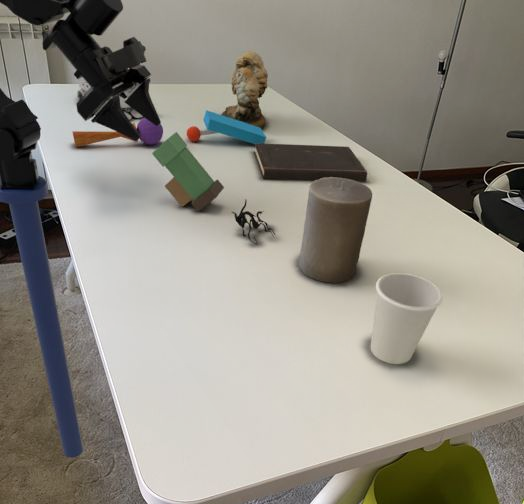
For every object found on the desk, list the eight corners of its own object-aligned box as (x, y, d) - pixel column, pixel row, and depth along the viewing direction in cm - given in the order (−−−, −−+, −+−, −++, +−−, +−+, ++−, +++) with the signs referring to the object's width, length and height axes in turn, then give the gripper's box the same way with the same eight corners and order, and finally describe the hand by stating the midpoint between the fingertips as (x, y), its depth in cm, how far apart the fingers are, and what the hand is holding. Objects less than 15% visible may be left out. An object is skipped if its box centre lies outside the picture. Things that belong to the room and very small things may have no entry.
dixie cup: (359, 364, 73) (375, 301, 66) (362, 327, 79) (377, 267, 73) (423, 375, 72) (445, 313, 66) (420, 338, 78) (440, 278, 72)
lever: (251, 154, 142) (183, 133, 135) (260, 127, 138) (191, 105, 131) (256, 164, 137) (186, 143, 130) (266, 137, 133) (194, 114, 126)
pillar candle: (367, 276, 90) (388, 189, 81) (319, 288, 86) (335, 198, 77) (333, 249, 97) (349, 165, 87) (286, 259, 92) (297, 172, 83)
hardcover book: (254, 152, 130) (254, 143, 129) (347, 156, 134) (349, 146, 132) (263, 179, 118) (264, 169, 117) (365, 182, 122) (367, 172, 120)
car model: (115, 122, 138) (113, 101, 135) (68, 97, 151) (66, 77, 148) (152, 116, 145) (152, 96, 142) (104, 92, 158) (103, 73, 155)
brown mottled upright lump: (218, 110, 154) (220, 41, 143) (259, 112, 156) (265, 44, 145) (224, 131, 140) (227, 57, 130) (269, 133, 142) (276, 60, 132)
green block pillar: (153, 203, 105) (150, 136, 97) (163, 193, 109) (161, 128, 101) (215, 215, 103) (217, 148, 95) (223, 204, 107) (226, 139, 99)
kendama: (70, 123, 124) (158, 114, 129) (76, 151, 127) (162, 141, 132) (71, 126, 119) (163, 117, 124) (78, 155, 122) (166, 144, 127)
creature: (279, 235, 101) (241, 216, 102) (288, 210, 98) (248, 191, 98) (263, 253, 95) (223, 233, 96) (273, 227, 92) (231, 207, 93)
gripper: (85, 29, 82) (157, 117, 87) (137, 13, 96) (196, 90, 102) (45, 78, 88) (115, 158, 94) (100, 57, 102) (158, 127, 108)
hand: (149, 131), depth 99 cm, fingers open, 9 cm apart
